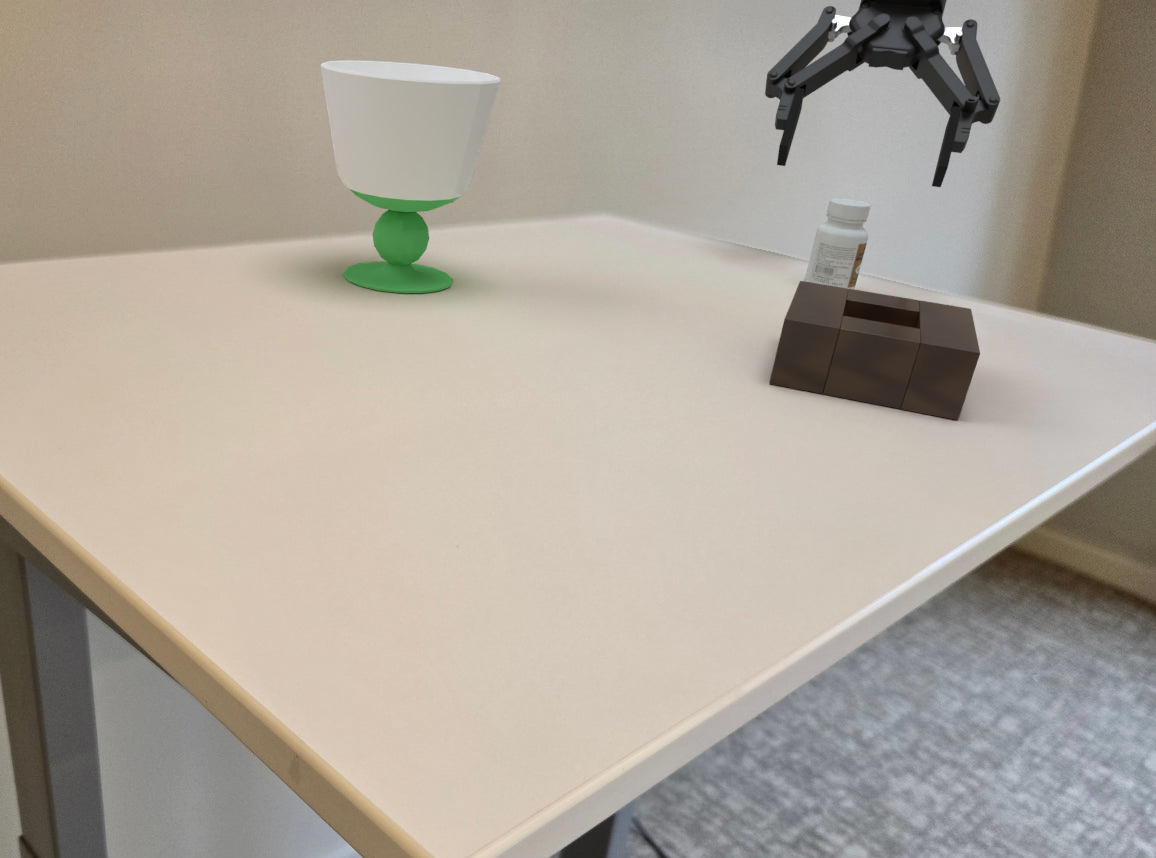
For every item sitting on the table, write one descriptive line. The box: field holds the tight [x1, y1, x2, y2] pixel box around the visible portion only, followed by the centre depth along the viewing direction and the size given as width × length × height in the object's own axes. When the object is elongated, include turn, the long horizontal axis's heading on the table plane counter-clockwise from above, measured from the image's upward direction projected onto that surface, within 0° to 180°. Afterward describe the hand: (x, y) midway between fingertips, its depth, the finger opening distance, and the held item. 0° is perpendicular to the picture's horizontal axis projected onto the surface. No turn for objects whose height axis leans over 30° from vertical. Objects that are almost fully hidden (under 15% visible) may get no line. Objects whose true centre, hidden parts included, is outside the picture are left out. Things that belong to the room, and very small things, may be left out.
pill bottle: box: [804, 197, 871, 290], centre depth 96 cm, size 4×4×8 cm
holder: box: [768, 280, 981, 421], centre depth 74 cm, size 12×12×4 cm
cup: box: [319, 59, 502, 294], centre depth 85 cm, size 14×14×16 cm
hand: (859, 166), depth 97 cm, fingers open, 13 cm apart
